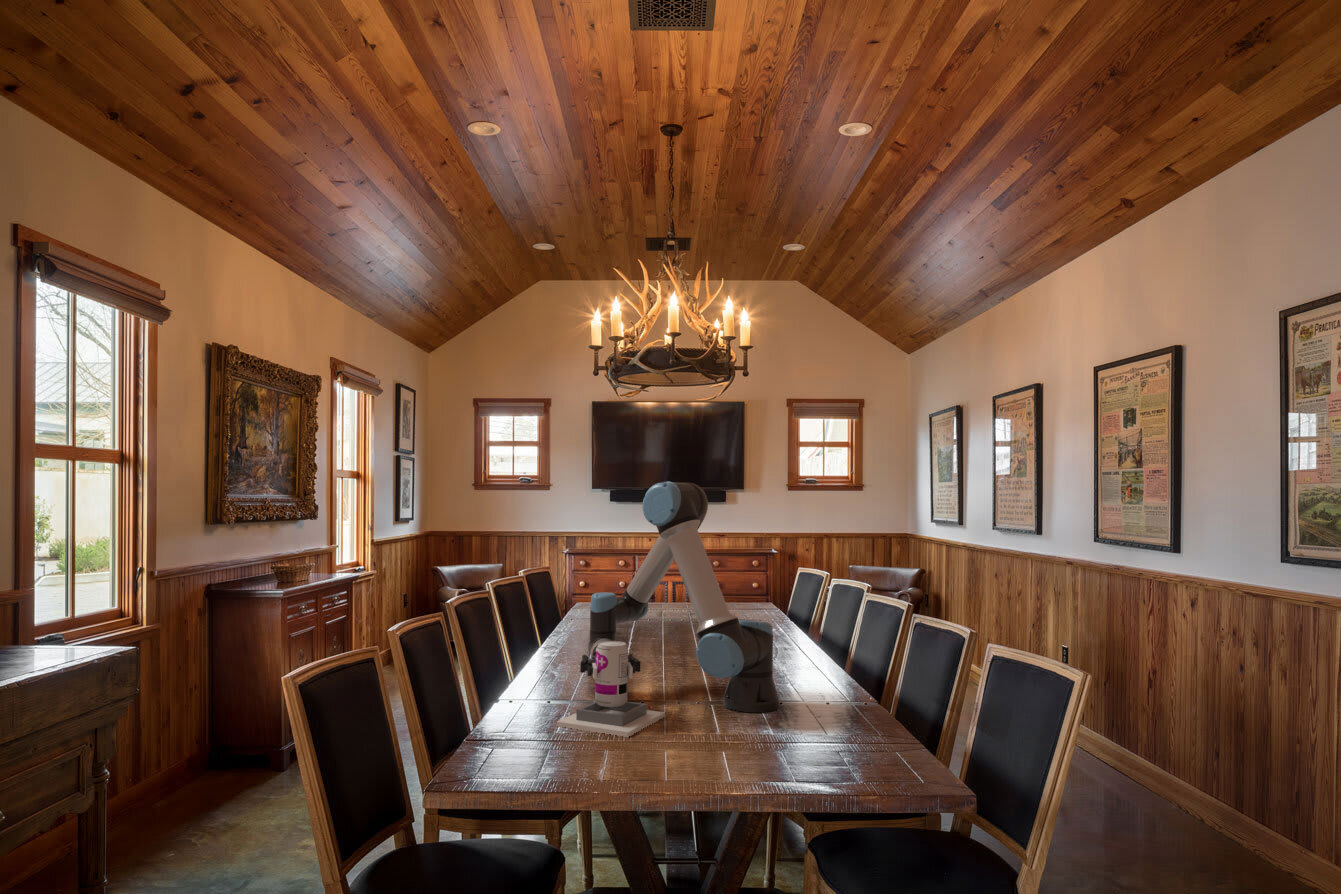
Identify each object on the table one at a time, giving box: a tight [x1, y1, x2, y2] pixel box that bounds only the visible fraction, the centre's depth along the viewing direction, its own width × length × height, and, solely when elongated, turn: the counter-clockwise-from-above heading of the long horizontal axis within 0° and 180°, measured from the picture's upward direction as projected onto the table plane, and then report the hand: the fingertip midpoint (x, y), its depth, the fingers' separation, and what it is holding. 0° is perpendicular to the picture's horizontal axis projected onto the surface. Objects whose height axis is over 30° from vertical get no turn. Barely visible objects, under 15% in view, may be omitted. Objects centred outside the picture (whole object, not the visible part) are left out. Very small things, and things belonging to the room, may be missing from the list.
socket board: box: [556, 700, 666, 738], centre depth 209 cm, size 20×20×4 cm
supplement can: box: [594, 640, 629, 707], centre depth 210 cm, size 8×8×15 cm
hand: (613, 673), depth 205 cm, fingers closed on supplement can, 8 cm apart
